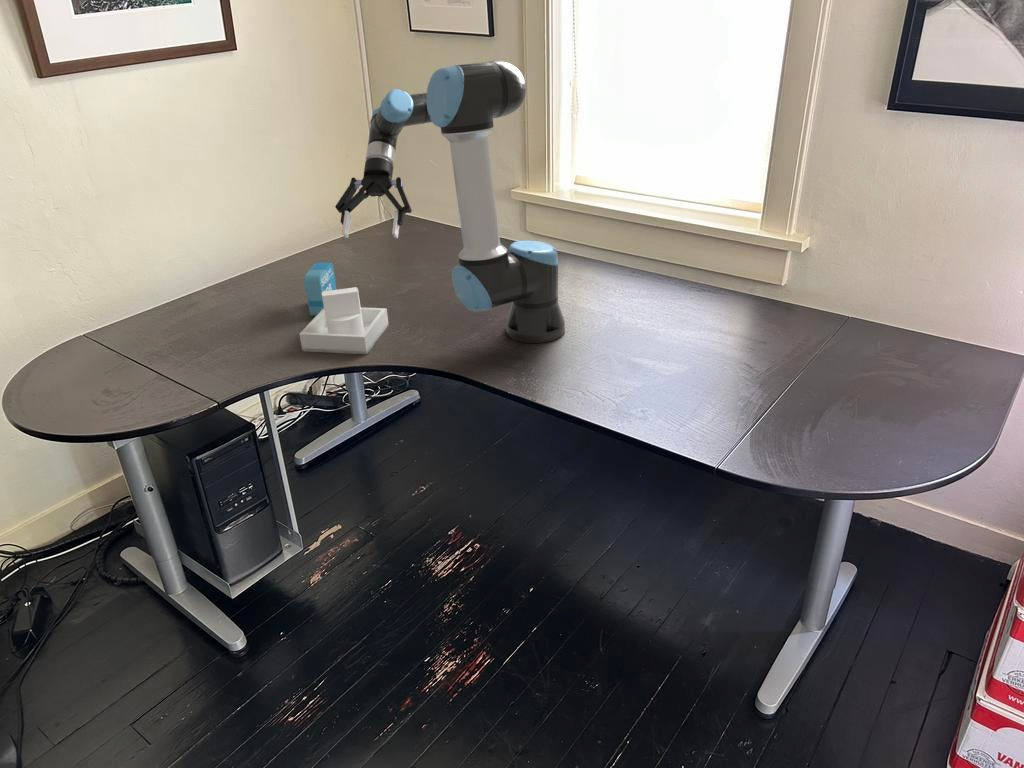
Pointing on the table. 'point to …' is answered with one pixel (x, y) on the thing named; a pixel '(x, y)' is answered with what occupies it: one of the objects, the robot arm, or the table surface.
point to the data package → (318, 285)
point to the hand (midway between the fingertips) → (369, 235)
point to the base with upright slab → (343, 311)
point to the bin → (322, 341)
